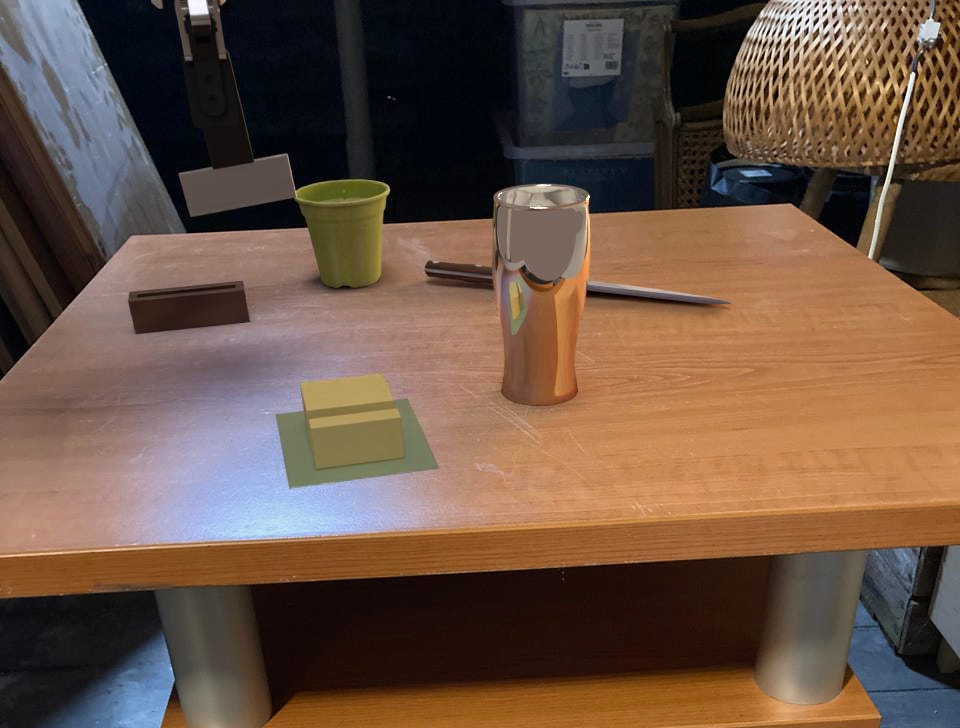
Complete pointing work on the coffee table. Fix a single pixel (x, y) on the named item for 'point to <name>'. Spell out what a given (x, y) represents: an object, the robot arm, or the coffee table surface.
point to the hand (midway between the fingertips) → (215, 120)
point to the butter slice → (356, 438)
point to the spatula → (235, 172)
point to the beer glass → (540, 287)
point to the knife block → (188, 306)
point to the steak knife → (485, 276)
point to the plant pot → (345, 229)
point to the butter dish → (306, 474)
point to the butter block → (345, 397)
